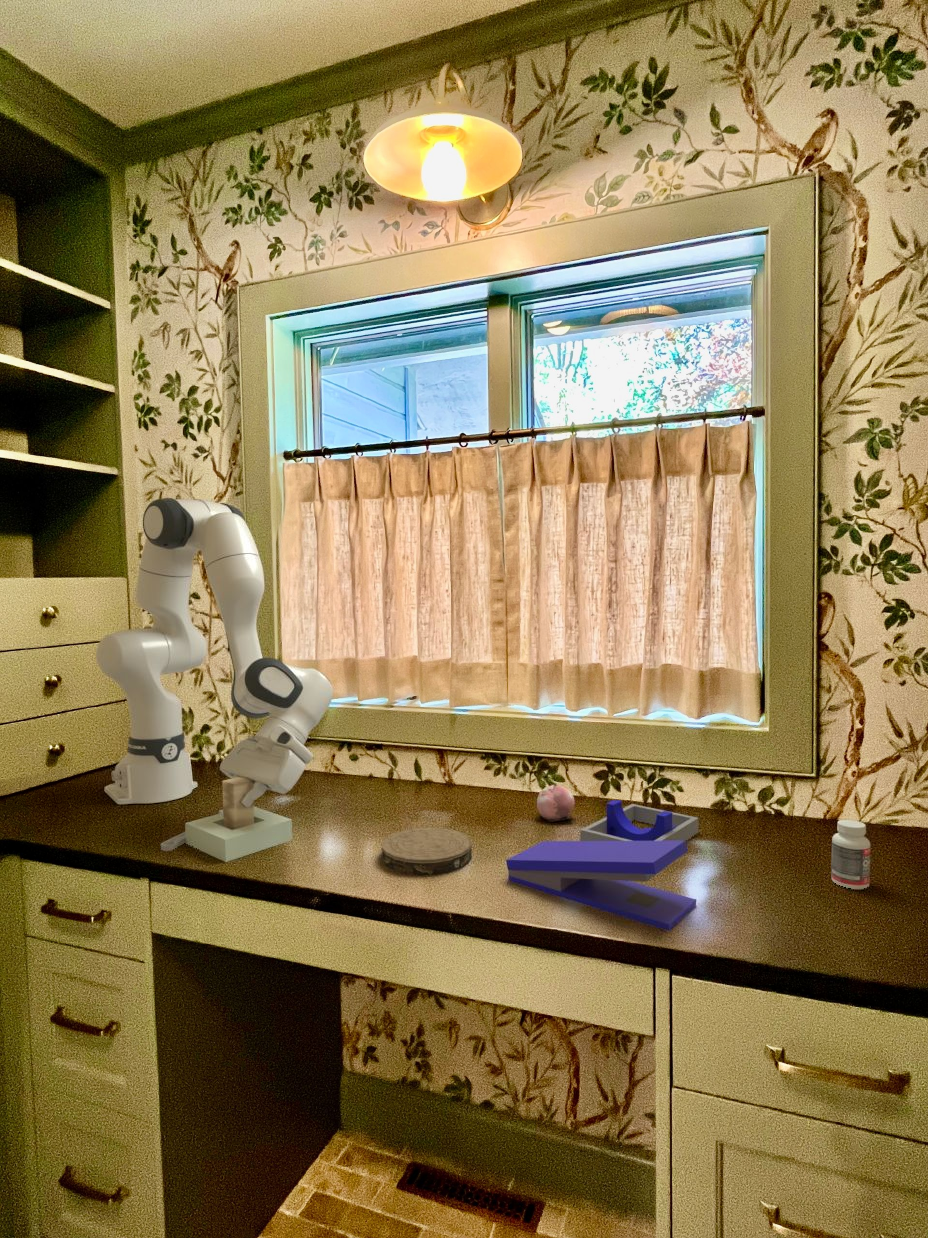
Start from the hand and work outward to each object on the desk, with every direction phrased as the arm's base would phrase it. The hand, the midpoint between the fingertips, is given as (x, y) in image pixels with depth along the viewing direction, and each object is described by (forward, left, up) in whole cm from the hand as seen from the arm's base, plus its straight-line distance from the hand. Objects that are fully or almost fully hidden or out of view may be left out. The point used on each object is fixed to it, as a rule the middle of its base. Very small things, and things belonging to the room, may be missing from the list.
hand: (235, 802), depth 136 cm
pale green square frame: (0, +1, -8) cm, 8 cm away
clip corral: (+58, +50, -8) cm, 77 cm away
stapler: (+63, +24, -8) cm, 68 cm away
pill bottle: (+93, +53, -8) cm, 107 cm away
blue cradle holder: (+58, +50, -8) cm, 77 cm away
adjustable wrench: (-12, +1, -8) cm, 15 cm away
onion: (+39, +50, -8) cm, 64 cm away
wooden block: (0, +1, -6) cm, 6 cm away
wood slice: (+33, +18, -8) cm, 38 cm away
